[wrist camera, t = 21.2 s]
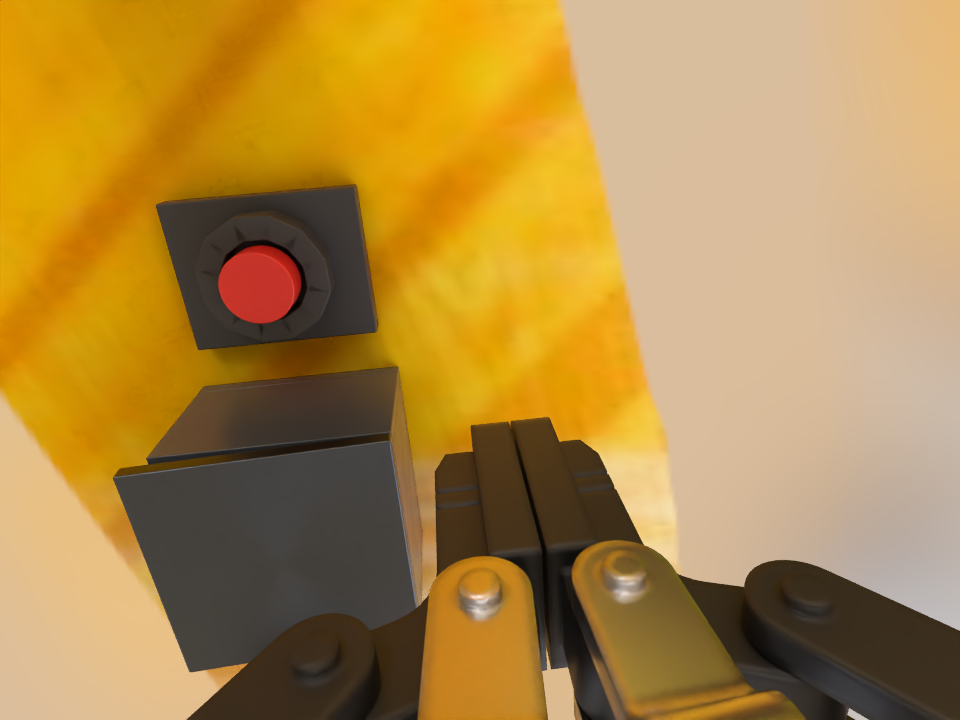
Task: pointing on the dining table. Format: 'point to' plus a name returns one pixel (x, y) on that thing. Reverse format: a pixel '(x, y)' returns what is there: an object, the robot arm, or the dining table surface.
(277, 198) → the block
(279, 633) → the lid
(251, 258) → the button
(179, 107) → the dining table surface
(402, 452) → the dark grey lidded box
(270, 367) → the dining table surface
